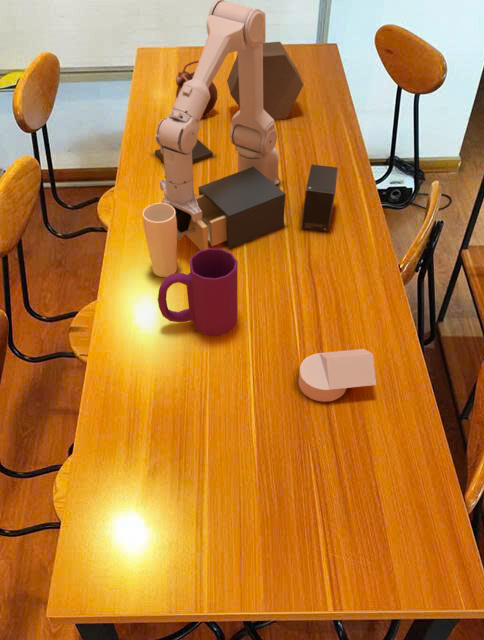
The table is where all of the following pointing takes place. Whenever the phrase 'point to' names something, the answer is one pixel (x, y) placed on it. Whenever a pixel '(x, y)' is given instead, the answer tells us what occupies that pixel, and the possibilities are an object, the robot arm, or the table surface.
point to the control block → (198, 153)
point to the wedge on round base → (335, 373)
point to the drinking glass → (161, 237)
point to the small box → (319, 197)
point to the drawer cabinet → (247, 204)
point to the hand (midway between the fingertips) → (182, 232)
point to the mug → (206, 292)
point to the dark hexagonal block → (273, 81)
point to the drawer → (206, 226)
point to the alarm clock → (186, 76)
